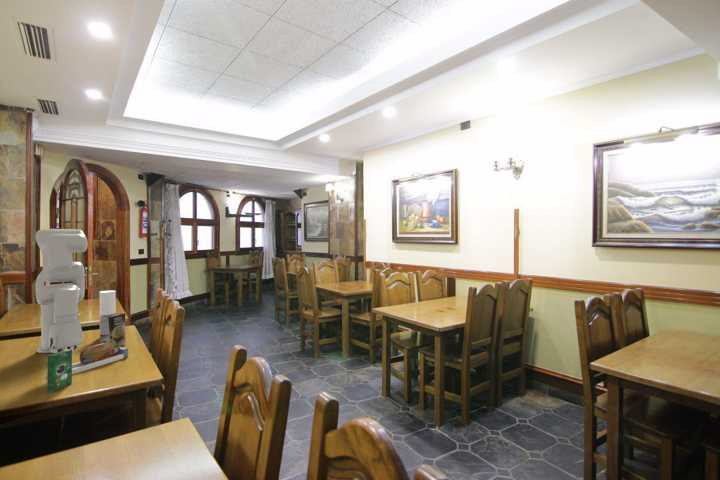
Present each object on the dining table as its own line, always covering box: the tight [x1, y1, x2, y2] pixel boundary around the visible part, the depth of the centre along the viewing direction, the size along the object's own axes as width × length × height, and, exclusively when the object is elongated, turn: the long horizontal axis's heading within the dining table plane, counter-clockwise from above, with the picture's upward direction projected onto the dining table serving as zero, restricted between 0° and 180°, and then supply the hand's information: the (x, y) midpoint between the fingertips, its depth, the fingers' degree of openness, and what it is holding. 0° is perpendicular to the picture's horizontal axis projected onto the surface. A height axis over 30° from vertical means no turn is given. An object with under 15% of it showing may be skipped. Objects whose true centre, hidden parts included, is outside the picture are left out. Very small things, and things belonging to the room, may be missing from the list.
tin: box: [79, 342, 120, 365], centre depth 159 cm, size 15×3×8 cm, turn 151°
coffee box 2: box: [99, 312, 126, 347], centre depth 181 cm, size 9×6×16 cm
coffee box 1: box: [46, 349, 73, 393], centre depth 133 cm, size 8×3×13 cm, turn 178°
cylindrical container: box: [99, 290, 117, 318], centre depth 198 cm, size 7×7×25 cm
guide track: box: [46, 346, 129, 375], centre depth 155 cm, size 7×28×4 cm, turn 157°
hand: (66, 363), depth 147 cm, fingers closed
